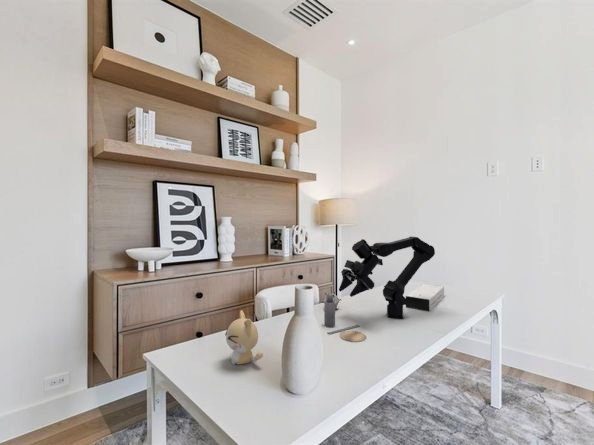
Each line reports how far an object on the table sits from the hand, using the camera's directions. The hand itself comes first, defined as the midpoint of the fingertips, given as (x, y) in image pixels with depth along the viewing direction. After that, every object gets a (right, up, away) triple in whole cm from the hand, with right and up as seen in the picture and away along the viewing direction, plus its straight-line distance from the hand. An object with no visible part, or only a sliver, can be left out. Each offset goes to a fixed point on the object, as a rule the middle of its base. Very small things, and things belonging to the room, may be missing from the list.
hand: (344, 293), depth 134 cm
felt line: (-1, -13, -7) cm, 15 cm away
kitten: (-38, -14, -34) cm, 53 cm away
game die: (-3, -12, +21) cm, 24 cm away
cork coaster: (+1, -13, -14) cm, 19 cm away
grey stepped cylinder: (-7, -13, -2) cm, 15 cm away
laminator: (+48, -13, +34) cm, 60 cm away
